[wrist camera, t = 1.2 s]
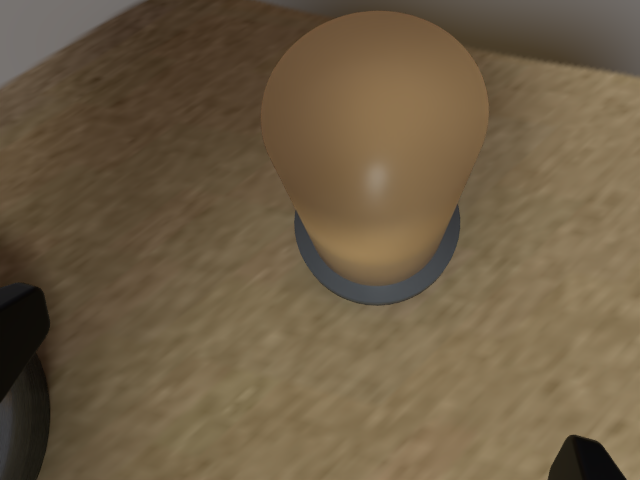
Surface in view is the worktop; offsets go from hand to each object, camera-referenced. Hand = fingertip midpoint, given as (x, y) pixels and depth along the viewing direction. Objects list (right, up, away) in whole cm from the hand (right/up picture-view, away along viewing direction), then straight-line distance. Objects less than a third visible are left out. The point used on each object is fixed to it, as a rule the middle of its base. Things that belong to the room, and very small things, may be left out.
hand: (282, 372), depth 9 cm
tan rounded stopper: (+3, +3, +13) cm, 14 cm away
